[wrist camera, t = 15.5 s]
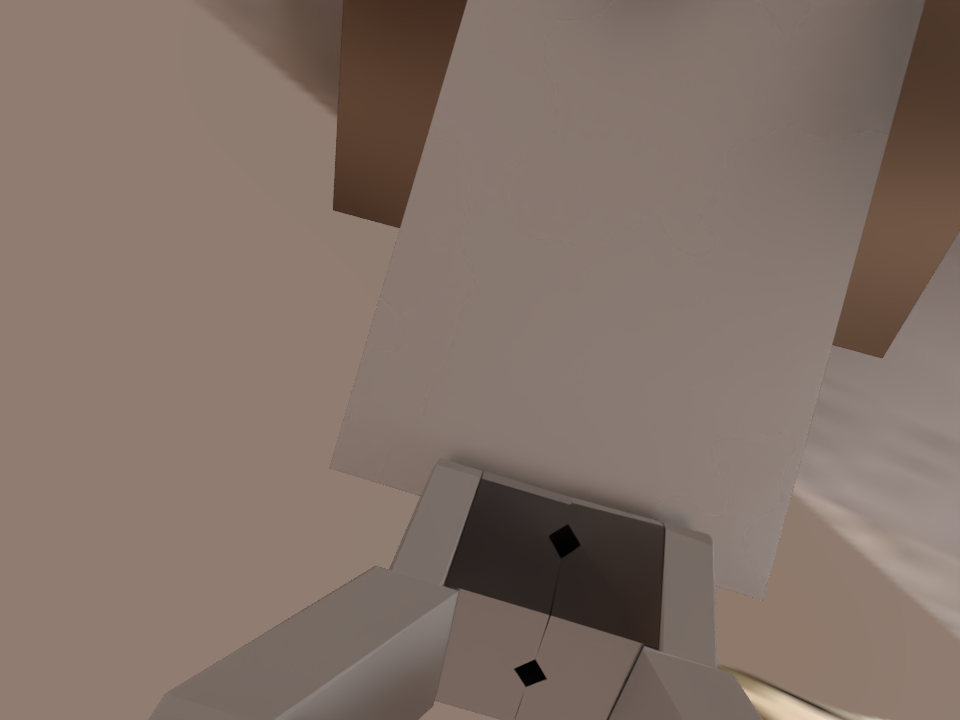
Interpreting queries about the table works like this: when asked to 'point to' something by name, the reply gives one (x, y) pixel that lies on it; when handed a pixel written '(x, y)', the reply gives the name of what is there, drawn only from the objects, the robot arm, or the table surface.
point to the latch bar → (633, 255)
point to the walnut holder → (892, 212)
